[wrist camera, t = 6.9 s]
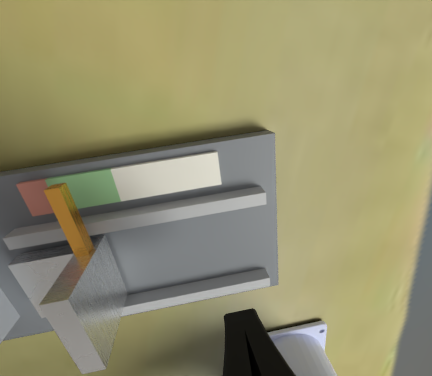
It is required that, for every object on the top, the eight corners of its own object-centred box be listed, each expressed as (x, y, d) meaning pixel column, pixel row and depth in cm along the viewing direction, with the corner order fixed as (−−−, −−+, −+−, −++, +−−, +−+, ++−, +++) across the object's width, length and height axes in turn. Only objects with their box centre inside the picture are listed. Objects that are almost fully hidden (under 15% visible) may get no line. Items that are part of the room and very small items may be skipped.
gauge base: (273, 273, 19) (308, 346, 14) (13, 325, 18) (-64, 430, 12) (267, 130, 14) (320, 153, 9) (-90, 185, 13) (-294, 255, 7)
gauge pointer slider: (127, 292, 16) (106, 369, 12) (51, 307, 16) (-1, 392, 11) (80, 174, 12) (23, 219, 8) (-20, 190, 12) (-138, 246, 8)
